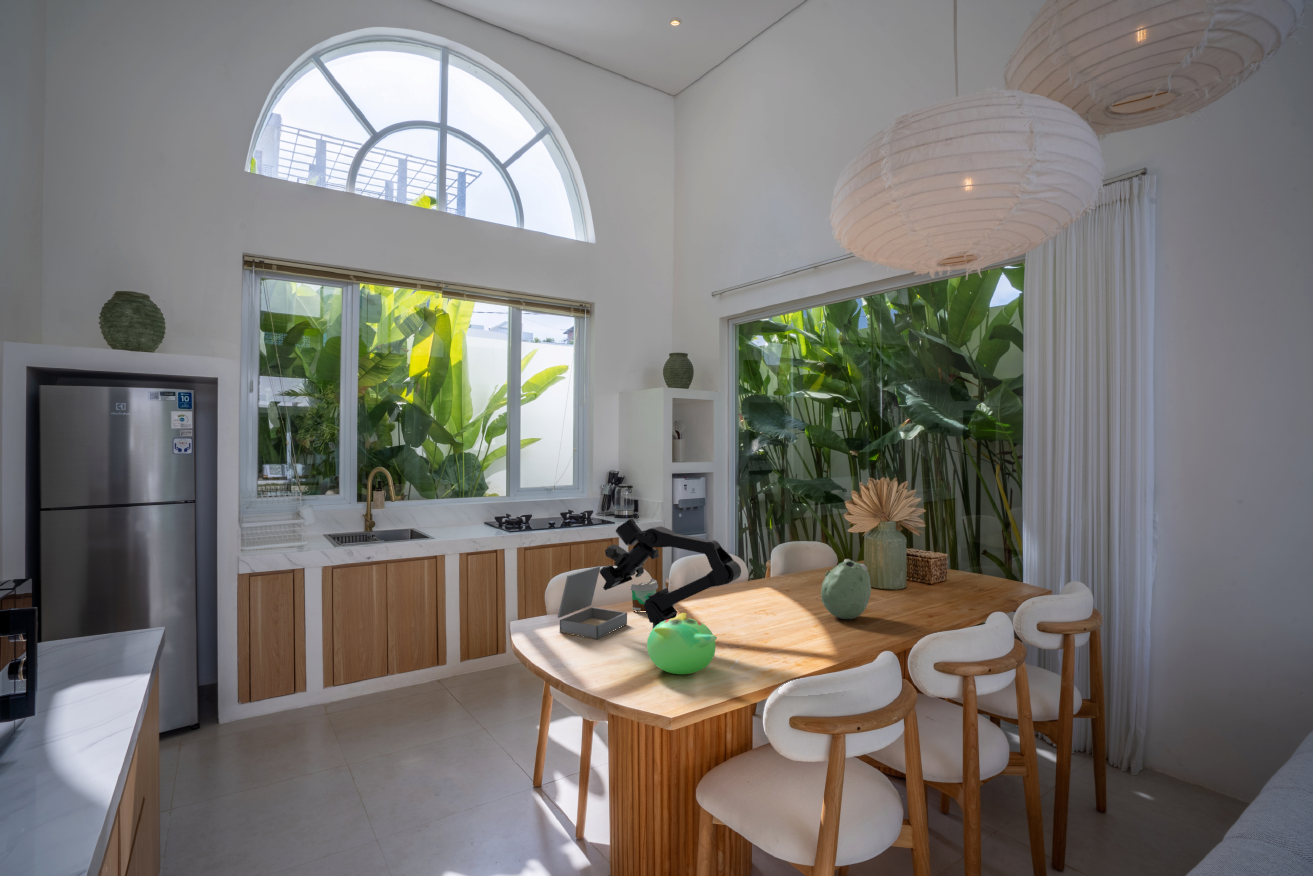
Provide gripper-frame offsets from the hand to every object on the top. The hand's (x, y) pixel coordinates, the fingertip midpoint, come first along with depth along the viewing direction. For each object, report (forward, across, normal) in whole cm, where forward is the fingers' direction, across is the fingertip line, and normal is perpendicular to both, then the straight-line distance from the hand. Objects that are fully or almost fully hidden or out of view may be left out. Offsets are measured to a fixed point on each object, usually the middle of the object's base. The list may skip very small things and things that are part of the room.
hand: (606, 588), depth 203 cm
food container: (+10, -28, +10) cm, 31 cm away
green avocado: (-35, -53, +55) cm, 84 cm away
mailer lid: (+9, 0, -6) cm, 10 cm away
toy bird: (-16, +21, +36) cm, 45 cm away
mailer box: (+13, 0, +6) cm, 14 cm away
